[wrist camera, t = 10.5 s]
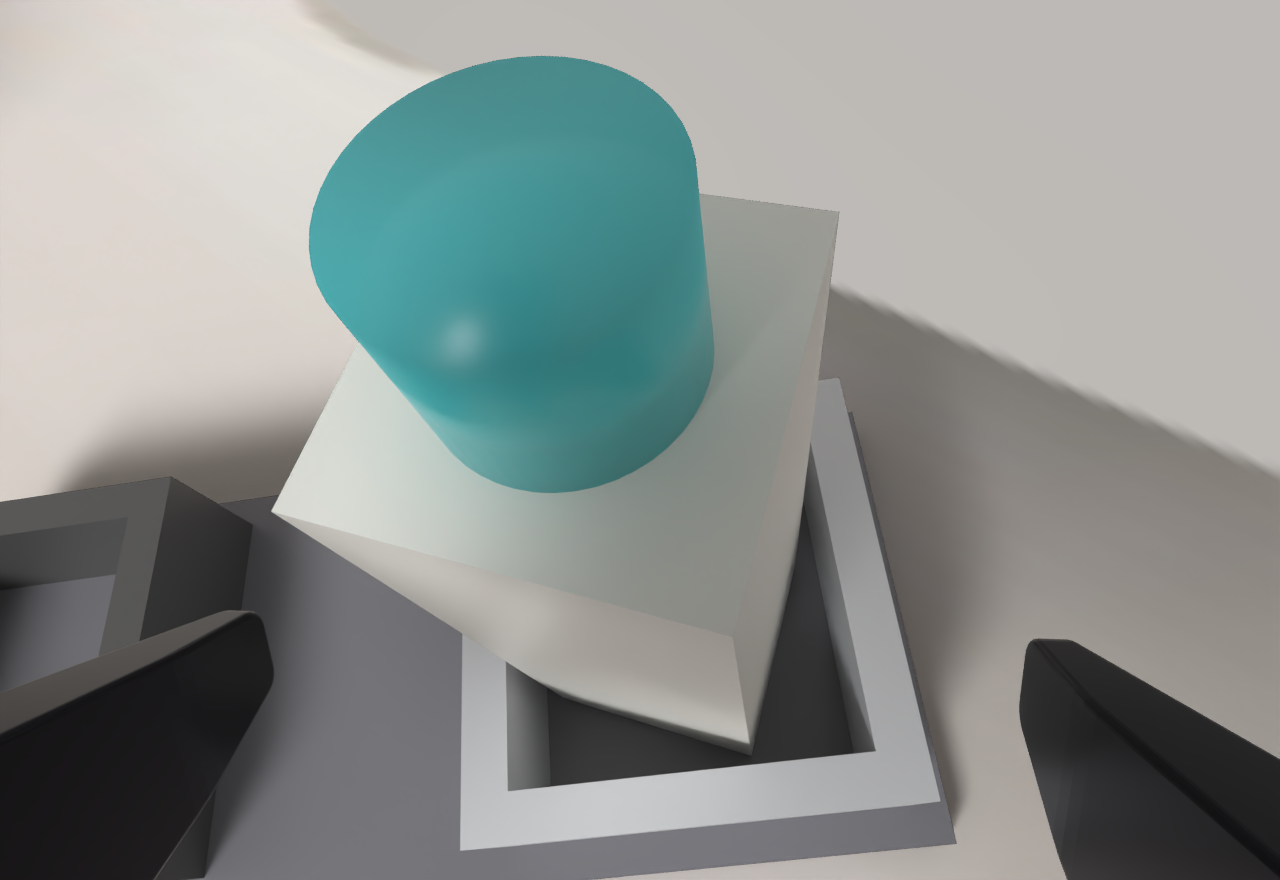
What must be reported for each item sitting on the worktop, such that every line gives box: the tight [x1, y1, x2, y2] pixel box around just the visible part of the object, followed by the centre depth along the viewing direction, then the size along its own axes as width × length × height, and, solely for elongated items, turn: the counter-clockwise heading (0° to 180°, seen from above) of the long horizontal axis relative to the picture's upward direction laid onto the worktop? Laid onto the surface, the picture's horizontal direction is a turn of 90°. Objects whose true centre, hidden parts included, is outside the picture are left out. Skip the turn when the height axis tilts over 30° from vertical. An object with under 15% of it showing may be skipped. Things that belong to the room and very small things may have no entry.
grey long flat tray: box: [0, 377, 957, 880], centre depth 16 cm, size 9×23×4 cm, turn 95°
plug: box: [271, 56, 839, 756], centre depth 11 cm, size 4×4×13 cm
